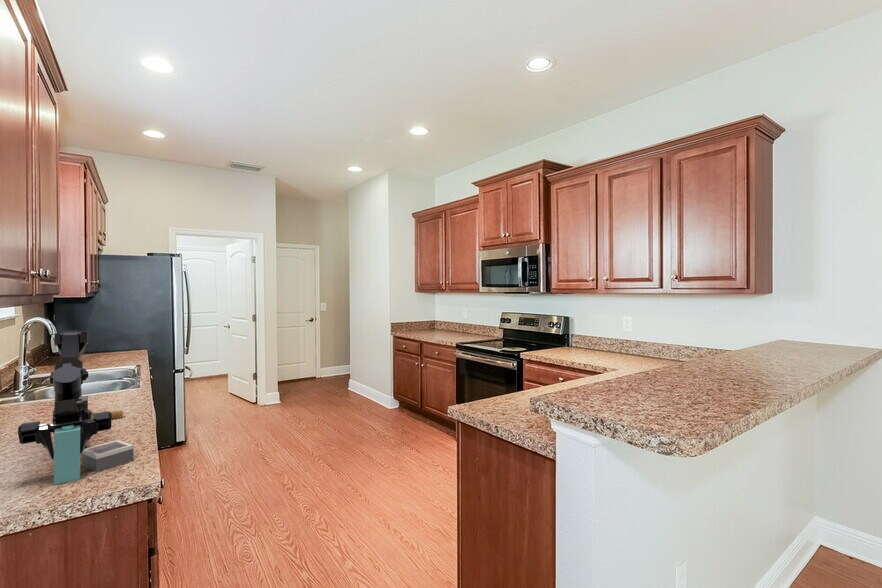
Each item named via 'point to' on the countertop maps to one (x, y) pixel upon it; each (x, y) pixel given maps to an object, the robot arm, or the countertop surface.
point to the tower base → (107, 455)
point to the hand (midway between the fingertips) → (66, 455)
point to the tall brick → (66, 454)
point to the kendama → (114, 414)
